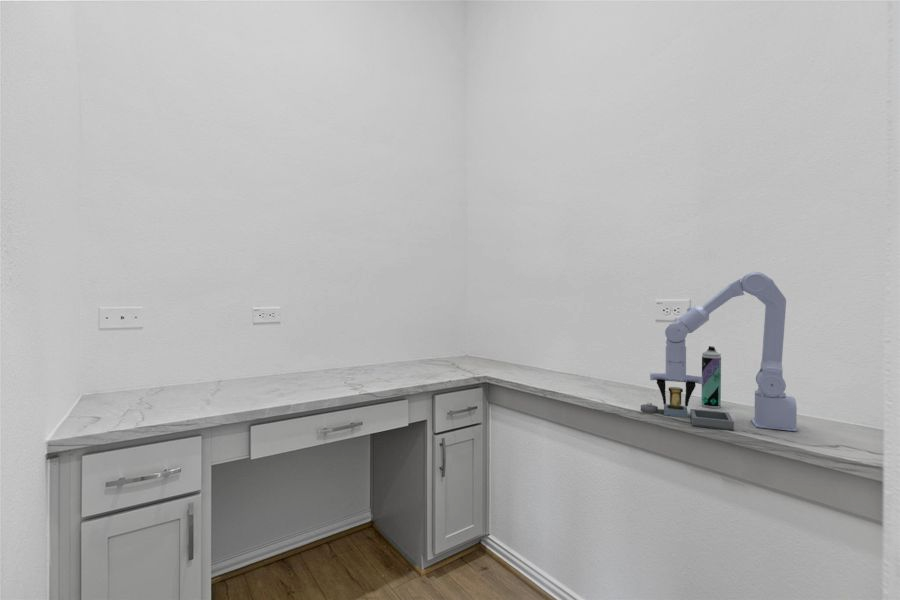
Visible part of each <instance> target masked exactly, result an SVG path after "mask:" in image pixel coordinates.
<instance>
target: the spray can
mask: <svg viewBox="0 0 900 600" xmlns="http://www.w3.org/2000/svg"><path fill="white" fill-rule="evenodd" d="M721 373H722V354H721V353H719V352H718V351H717V349H716V348H715V346H714V345H713V346H712V345H709V346H708V348H707V349H706V351H704V352H702V355H701V377H702V384H701V406H702V407H703V408H707V409H717V410H718V409H721V407H722V406H721V404H722V403H721V402H722V401H721V400H722V399H721V397H722V396H721V395H722V394H721V392H722V374H721Z"/></svg>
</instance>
